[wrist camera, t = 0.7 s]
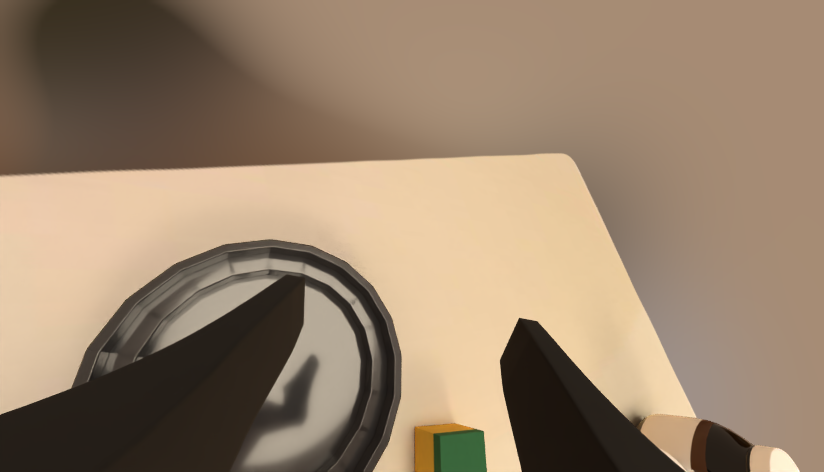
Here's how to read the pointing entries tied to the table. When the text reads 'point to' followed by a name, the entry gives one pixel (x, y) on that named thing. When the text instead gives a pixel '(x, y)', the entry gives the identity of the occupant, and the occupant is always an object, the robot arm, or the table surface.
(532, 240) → the table surface
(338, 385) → the bowl
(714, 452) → the spread jar
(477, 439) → the sponge
